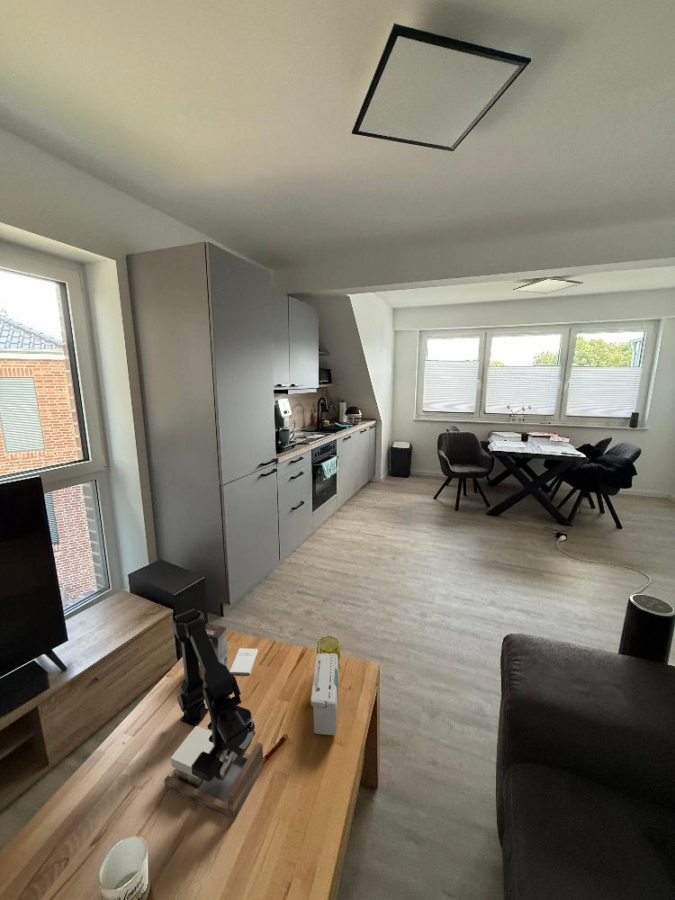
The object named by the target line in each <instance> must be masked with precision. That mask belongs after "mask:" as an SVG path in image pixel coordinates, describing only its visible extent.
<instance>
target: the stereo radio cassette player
mask: <svg viewBox="0 0 675 900" xmlns="http://www.w3.org/2000/svg"><path fill="white" fill-rule="evenodd" d="M320 643H321V639H318V653H317V654H316V655H315V656H316V657H315V663H314V672H313V679H312V688H311V696H310V705H311V706H312V709H313V712H312V713H313V733H314V734H317V735H325V736H335V735H336V733H337V724H338V723H337V722H338V721H337V720H338V702H339V701H338V698H339V676H340V675H339V669H340V667H339V656H338V654H336V653H330V654H329V653H328V652H327V653H326V652H325V653H320V650H321V649H320V647H321V644H320Z"/></svg>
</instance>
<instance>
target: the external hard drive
mask: <svg viewBox="0 0 675 900" xmlns="http://www.w3.org/2000/svg"><path fill="white" fill-rule="evenodd" d="M258 652H259V648H247V647H246V648H241V647H239V648H238V651H237V652H236V655H235V657H234V659H233V662H232V665H231V667H230V669H229V672H230V674H232V675H251V673H252V670H253V667H254V665H255V662H256V658H257V655H258V654H259V653H258Z"/></svg>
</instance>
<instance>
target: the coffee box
mask: <svg viewBox="0 0 675 900" xmlns="http://www.w3.org/2000/svg"><path fill="white" fill-rule="evenodd" d="M205 626H206V632H207V634H208V637H209V639H210V641H211V644H212V646H213V648H214V651H215V653H216V656H217V658H218V660H219V662H220V663H222V664H223V665H225V666H227V665H228V664H229V653H228V651H229V650H228V638H227V627H226V626H222V625H216V624H212V623H205ZM199 669H200V670H202V668H201V666H200V665H199Z"/></svg>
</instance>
